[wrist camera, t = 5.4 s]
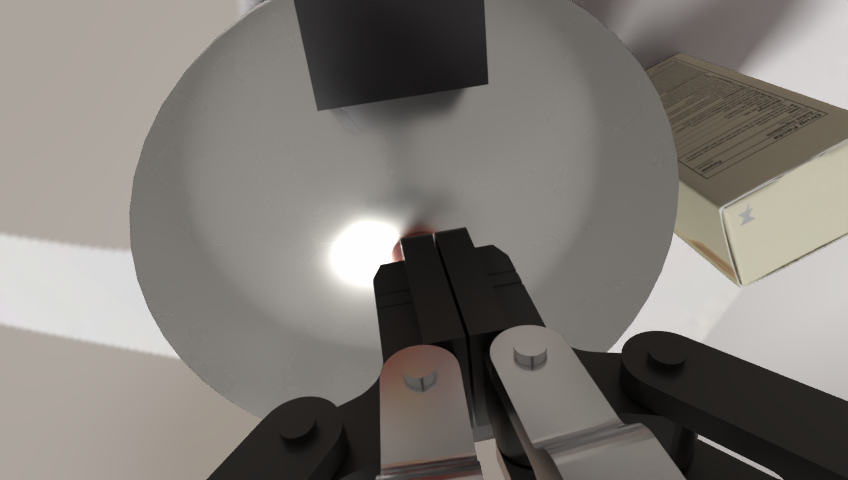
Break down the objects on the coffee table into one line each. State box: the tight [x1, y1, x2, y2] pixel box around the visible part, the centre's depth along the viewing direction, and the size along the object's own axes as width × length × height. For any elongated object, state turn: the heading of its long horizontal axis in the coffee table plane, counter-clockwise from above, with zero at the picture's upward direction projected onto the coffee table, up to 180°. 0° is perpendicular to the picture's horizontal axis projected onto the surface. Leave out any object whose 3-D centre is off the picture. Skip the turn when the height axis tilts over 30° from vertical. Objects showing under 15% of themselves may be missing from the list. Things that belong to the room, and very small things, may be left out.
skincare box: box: [645, 53, 848, 288], centre depth 25 cm, size 6×4×12 cm
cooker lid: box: [129, 0, 679, 443], centre depth 17 cm, size 17×16×3 cm
